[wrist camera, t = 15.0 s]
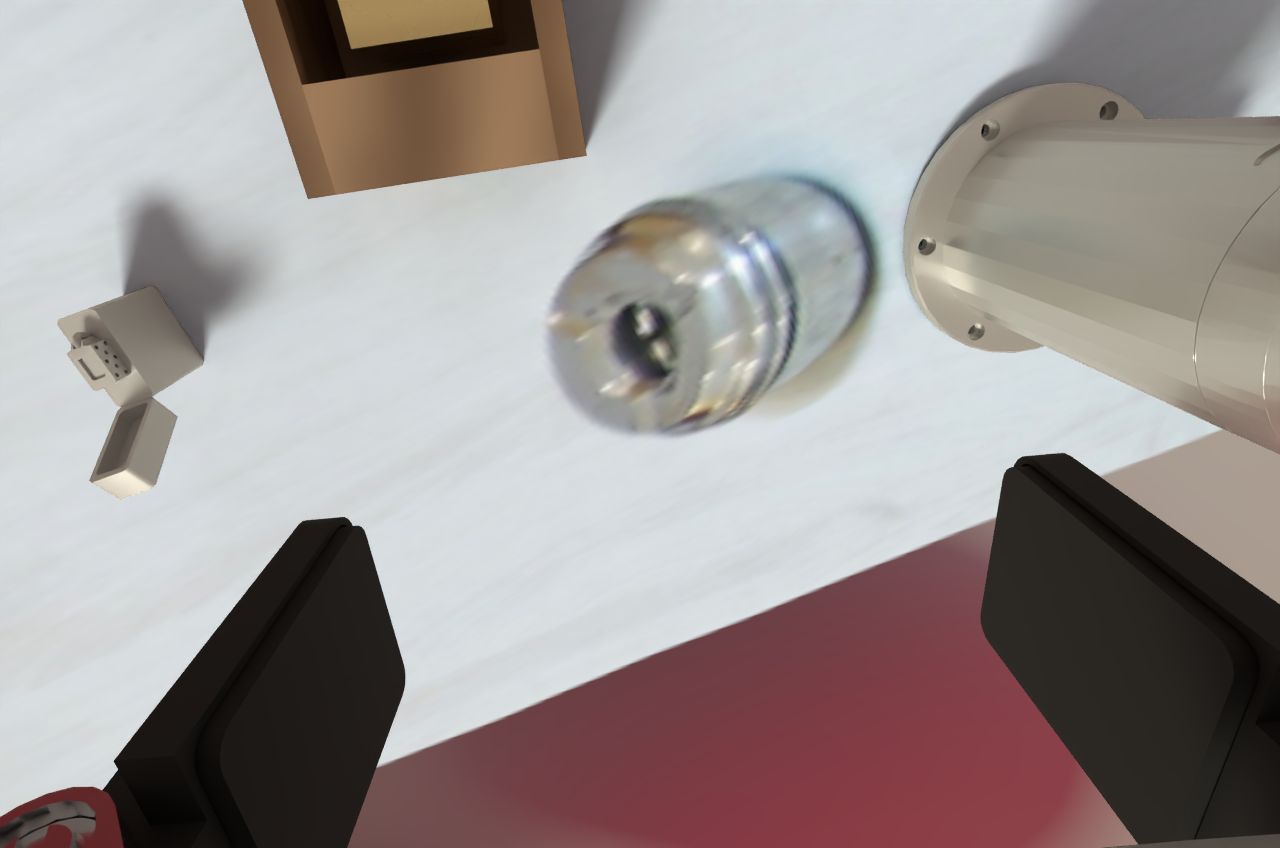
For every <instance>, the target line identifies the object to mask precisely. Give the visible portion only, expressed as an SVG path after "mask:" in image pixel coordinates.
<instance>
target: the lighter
mask: <svg viewBox="0 0 1280 848" xmlns="http://www.w3.org/2000/svg"><path fill="white" fill-rule="evenodd" d="M57 325H58V326H59V328H60V329H61V331H62V332H63V333H64V335H65V336H66V337H67V339H68V340H69V341H70V343H71V351H70V352H68V353H67V356H68V357H69V358H70V360H71V361H72V362H73V364H74V365H75V366H76V368H77V369H78V370H79V372H80V373H81V374H82V376H83V377H84V378H85V380H86V381H87V382H88V384H89V385H90V386H91V388H92V389H93V390H96V391H97V390H100V389H103V388H104V389H105V390H106V392H107V393H108V394H109V396H110V397H111V398H112V400H113V401H114V403H115V404H116V405H117V406H120V407H122V408H120V409H119V410H118V411H117V414H116V416H115V418H114V421H113V423H112V426H111V428H110V431H109V433H108V436H107V438H106V441H105V443H104V446H103V448H102V451H101V453H100V456H99V458H98V461H97V463H96V466H95V468H94V470H93V473H92V475H91V478H90V480H89V481H91V482H92V483H94V484H95V485H97V486H99V487H100V488H102V489H104V490H105V491H107V492H109V493H110V494H112V495H114V496H115V497H117V498H119V499H120V500H121V499H123V498H126V497H129V496H132V495H135V494H138V493H140V492H143V491H146V490H149V489H151V488H152V487H153V486H154V485H155V484H156V482H157V479H158V476H159V473H160V470H161V467H162V463H163V460H164V457H165V454H166V451H167V448H168V445H169V442H170V439H171V435H172V432H173V429H174V426H175V423H176V420H177V416H176V415H175V414H174V413H172V412H171V411H170V410H168V409H167V408H166V407H165V406H163V405H162V404H161V403H159V402H158V401H157V400H155V399H154V398H153V397H152V396H154V395H155V394H157V393H158V392H160V391H162V390H163V389H165V388H167V387H168V386H170V385H171V384H173V383H175V382H176V381H178V380H179V379H181V378H183V377H184V376H186V375H187V374H189V373H191V372H192V371H194V370H195V369H197V368H199V367H200V366H202V365H203V362H204V360H203V359H202V357H201V356H200V354H199V353H198V351H197V350H196V348H195V347H194V345H193V343H192V342H191V340H190V339H189V337H188V336H187V334H186V333H185V331H184V330H183V328H182V327H181V325H180V324H179V322H178V321H177V319H176V317H175V316H174V314H173V313H172V311H171V310H170V308H169V307H168V305H167V304H166V302H165V301H164V299H163V298H162V296H161V295H160V293H159V291H158V290H157V288H155V287H152V286H149V287H146V288H143V289H140V290H138V291H135V292H132V293H129V294H127V295H124V296H121V297H118V298H116V299H113V300H110V301H107V302H105V303H102V304H99V305H96V306H94V307H91V308H88V309H86V310H83V311H80V312H77V313H75V314H72V315H69V316H67V317H64V318H61V319H59V320H58V324H57Z"/></svg>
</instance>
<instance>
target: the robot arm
mask: <svg viewBox="0 0 1280 848" xmlns="http://www.w3.org/2000/svg"><path fill="white" fill-rule="evenodd" d="M982 126H984V132H983V134H982V135H981V130H982ZM921 240H923V244H922V246H921V247H920V248H918V246H919V243H920V242H921ZM903 259H904V267H905V275H906V278H907V281H908V284H909V287H910V290H911V293H912V296H913V298H914V299H915V301H916V303H917V304H918V306H919V308H920V309H921V311H922V313H923V314H924V315H925V316H926V317H927V318H928V319H929V320H930V321H931V322H932V323H933V324H934V325H935V326H936V327H937V328H938V329H939V330H941V331H942V332H944V333H945V334H947V335H949V336H950V337H952V338H953V339H955V340H957V341H959V342H961V343H963V344H965V345H967V346H969V347H972V348H976V349H981V350H985V351H989V352H1006V353H1015V352H1021V351H1027V350H1033V349H1038V348H1041V347H1044V346H1046V347H1048V348H1050V349H1052V350H1054V351H1056V352H1058V353H1061V354H1063V355H1065V356H1067V357H1069V358H1071V359H1074V360H1076V361H1078V362H1080V363H1082V364H1084V365H1086V366H1089V367H1091V368H1093V369H1095V370H1097V371H1099V372H1101V373H1104V374H1106V375H1108V376H1110V377H1112V378H1114V379H1116V380H1119V381H1121V382H1123V383H1125V384H1127V385H1129V386H1132V387H1134V388H1136V389H1138V390H1140V391H1142V392H1144V393H1147V394H1149V395H1151V396H1153V397H1155V398H1157V399H1159V400H1162V401H1164V402H1166V403H1168V404H1170V405H1172V406H1174V407H1177V408H1179V409H1181V410H1183V411H1185V412H1187V413H1189V414H1192V415H1194V416H1196V417H1198V418H1200V419H1202V420H1205V421H1207V422H1209V423H1211V424H1213V425H1215V426H1217V427H1220V428H1222V429H1224V430H1227V431H1229V432H1231V433H1233V434H1236V435H1238V436H1240V437H1243V438H1245V439H1247V440H1249V441H1251V442H1254V443H1256V444H1258V445H1260V446H1262V447H1264V448H1267V449H1269V450H1271V451H1273V452H1275V453H1278V454H1280V116H1271V117H1224V118H1176V119H1146V118H1145V117H1144V115H1143V114H1142V113H1141V111H1140V110H1138V109H1137V108H1136V107H1135V106H1134V105H1132V104H1131V103H1130V102H1129V101H1128V100H1127V99H1125V98H1124V97H1123V96H1121V95H1118V94H1116V93H1114V92H1112V91H1110V90H1108V89H1106V88H1103V87H1100V86H1095V85H1090V84H1084V83H1079V82H1075V83H1053V84H1046V85H1040V86H1034V87H1028V88H1025V89H1022V90H1020V91H1017V92H1014V93H1011V94H1009V95H1006V96H1003V97H1001V98H1000V99H998V100H996V101H994V102H993V103H991V104H989V105H988V106H986V107H984V108H983V109H981V110H979V111H978V112H976V113H975V114H974V115H973V116H972V117H970V118H969V119H968V120H967V121H966V122H965V123H963V124H962V125H961V126H960V127H959V128H957V129H956V130H955V131H954V132H953V134H952V135H951V136H950V137H949V138H948V139H947V141H946V142H945V143H944V144H943V145H942V146H941V147H940V149H939V150H938V151H937V152H936V154H935V155H934V157H933V159H932V160H931V162H930V163H929V165H928V166H927V168H926V170H925V171H924V173H923V174H922V176H921V178H920V181H919V183H918V185H917V188H916V190H915V192H914V195H913V197H912V200H911V202H910V206H909V210H908V214H907V218H906V223H905V227H904V240H903ZM969 329H970V330H969ZM981 625H982V628H983V632H984V634H985V637H986V638H987V640H988V642H989V643H990V644H991V646H992V647H993V648H994V650H995V651H996V653H997V654H998V655H999V656H1000V658H1001V659H1002V661H1003V662H1004V663H1005V665H1006V666H1007V667H1008V669H1009V670H1010V671H1011V673H1012V674H1013V675H1014V677H1015V678H1016V680H1017V681H1018V682H1019V684H1020V685H1021V686H1022V688H1023V689H1024V690H1025V692H1026V693H1027V694H1028V696H1029V697H1030V698H1031V700H1032V701H1033V703H1034V704H1035V705H1036V707H1037V708H1038V709H1039V711H1040V712H1041V713H1042V715H1043V716H1044V717H1045V719H1046V720H1047V721H1048V723H1049V724H1050V725H1051V727H1052V728H1053V730H1054V731H1055V732H1056V734H1057V735H1058V736H1059V738H1060V739H1061V740H1062V742H1063V743H1064V744H1065V746H1066V747H1067V748H1068V750H1069V751H1070V752H1071V754H1072V755H1073V757H1074V758H1075V759H1076V761H1077V762H1078V763H1079V765H1080V766H1081V767H1082V769H1083V770H1084V771H1085V773H1086V774H1087V776H1088V777H1089V778H1090V779H1091V781H1092V782H1093V784H1094V785H1095V786H1096V788H1097V789H1098V790H1099V792H1100V793H1101V794H1102V796H1103V797H1104V798H1105V800H1106V801H1107V803H1108V804H1109V805H1110V807H1111V808H1112V809H1113V811H1114V812H1115V813H1116V815H1117V816H1118V817H1119V819H1120V820H1121V821H1122V823H1123V824H1124V826H1125V827H1126V828H1127V830H1128V831H1129V832H1130V834H1131V835H1132V836H1133V838H1134V839H1135V840H1136V842H1137V843H1138V845H1129V846H1117V847H1105V848H1280V604H1278V603H1277V602H1276V601H1274V600H1273V599H1271V598H1270V597H1269V596H1267V595H1266V594H1264V593H1263V592H1261V591H1260V590H1259V589H1257V588H1256V587H1254V586H1253V585H1252V584H1250V583H1249V582H1248V581H1246V580H1245V579H1243V578H1242V577H1240V576H1239V575H1238V574H1236V573H1235V572H1233V571H1232V570H1230V569H1229V568H1228V567H1226V566H1225V565H1224V564H1222V563H1221V562H1219V561H1218V560H1216V559H1215V558H1213V557H1212V556H1211V555H1209V554H1208V553H1207V552H1205V551H1204V550H1202V549H1201V548H1200V547H1198V546H1197V545H1195V544H1194V543H1192V542H1191V541H1190V540H1188V539H1187V538H1185V537H1184V536H1183V535H1181V534H1180V533H1178V532H1177V531H1176V530H1174V529H1173V528H1171V527H1170V526H1169V525H1167V524H1166V523H1164V522H1163V521H1162V520H1160V519H1159V518H1157V517H1156V516H1154V515H1153V514H1152V513H1150V512H1149V511H1147V510H1146V509H1145V508H1143V507H1142V506H1140V505H1139V504H1137V503H1136V502H1134V501H1133V500H1132V499H1131V498H1129V497H1128V496H1126V495H1125V494H1123V493H1122V492H1121V491H1119V490H1118V489H1116V488H1115V487H1114V486H1112V485H1111V484H1109V483H1108V482H1107V481H1105V480H1104V479H1102V478H1101V477H1100V476H1098V475H1097V474H1095V473H1094V472H1092V471H1091V470H1090V469H1088V468H1087V467H1085V466H1084V465H1083V464H1081V463H1080V462H1078V461H1077V460H1076V459H1074V458H1073V457H1071V456H1069V455H1067V454H1065V453H1057V454H1046V455H1035V456H1024V457H1021V458H1019V459H1018V460H1017V462H1016V463H1015V465H1014V467H1011V468H1009V469H1007V470H1006V472H1005V473H1004V477H1003V481H1002V487H1001V493H1000V499H999V506H998V512H997V518H996V524H995V530H994V536H993V543H992V548H991V554H990V560H989V566H988V572H987V579H986V584H985V591H984V597H983V603H982V609H981ZM404 687H405V668H404V664H403V660H402V657H401V654H400V650H399V647H398V643H397V640H396V636H395V633H394V629H393V626H392V623H391V619H390V616H389V612H388V609H387V605H386V602H385V598H384V595H383V592H382V588H381V585H380V581H379V578H378V574H377V571H376V567H375V564H374V561H373V557H372V554H371V550H370V547H369V543H368V540H367V537H366V534H365V531H364V530H363V528H362V527H360V526H353V525H352V523H351V522H350V521H349V519H347V518H345V517H339V518H328V519H316V520H306V521H302V522H301V523H300V524H299V525H298V526H297V528H296V529H295V530H294V531H293V533H292V534H291V535H290V536H289V538H288V539H287V540H286V542H285V543H284V544H283V545H282V547H281V548H280V549H279V551H278V552H277V553H276V554H275V556H274V557H273V558H272V559H271V561H270V562H269V563H268V565H267V566H266V567H265V568H264V570H263V571H262V572H261V574H260V575H259V576H258V577H257V579H256V580H255V581H254V582H253V584H252V585H251V586H250V588H249V589H248V590H247V591H246V593H245V594H244V595H243V597H242V598H241V599H240V600H239V602H238V603H237V604H236V605H235V607H234V608H233V609H232V611H231V612H230V613H229V614H228V616H227V617H226V618H225V619H224V621H223V622H222V623H221V625H220V626H219V627H218V628H217V630H216V631H215V632H214V634H213V635H212V636H211V637H210V639H209V640H208V641H207V642H206V644H205V645H204V646H203V648H202V649H201V650H200V651H199V653H198V654H197V655H196V657H195V658H194V659H193V660H192V662H191V663H190V664H189V665H188V667H187V668H186V669H185V671H184V672H183V673H182V674H181V676H180V677H179V678H178V680H177V681H176V682H175V683H174V685H173V686H172V687H171V688H170V690H169V691H168V692H167V694H166V695H165V696H164V697H163V699H162V700H161V701H160V703H159V704H158V705H157V706H156V708H155V709H154V710H153V711H152V713H151V714H150V715H149V717H148V718H147V719H146V720H145V722H144V723H143V724H142V726H141V727H140V728H139V729H138V731H137V732H136V733H135V734H134V736H133V737H132V738H131V740H130V741H129V742H128V743H127V745H126V746H125V747H124V749H123V750H122V751H121V752H120V754H119V755H118V756H117V757H116V759H115V760H114V763H115V765H116V766H117V768H118V771H117V772H116V773H115V775H114V776H113V777H112V779H111V780H110V781H109V782H108V784H107V785H106V786H105V788H104V789H103V790H100V789H98V788H95V787H71V788H67V789H63V790H59V791H56V792H52V793H48V794H45V795H43V796H41V797H38V798H36V799H34V800H31V801H29V802H27V803H25V804H22V805H20V806H18V807H16V808H14V809H13V810H11V811H10V812H8V813H6V814H5V815H3V816H1V817H0V848H347V846H348V844H349V841H350V838H351V835H352V832H353V830H354V827H355V824H356V822H357V819H358V816H359V813H360V811H361V808H362V805H363V802H364V799H365V797H366V794H367V791H368V789H369V786H370V783H371V780H372V778H373V775H374V772H375V769H376V767H377V764H378V761H379V758H380V756H381V753H382V750H383V748H384V745H385V742H386V739H387V737H388V734H389V731H390V728H391V726H392V723H393V720H394V717H395V715H396V712H397V709H398V706H399V704H400V701H401V698H402V695H403V692H404Z"/></svg>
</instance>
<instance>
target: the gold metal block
mask: <svg viewBox="0 0 1280 848" xmlns="http://www.w3.org/2000/svg"><path fill="white" fill-rule="evenodd" d="M338 4H339V7H340V11H341V14H342V18H343V21H344V25H345V28H346V32H347V36H348V39H349V43H350V46H351V49H353V50H355V51H358V52H361V53H364V54H367V55H369V56H372V57H375V58H378V59H380V60H383V61H386V62H395V61H401V60H408V59H414V58H421V57H427V56H434V55H440V54H446V53H453V52H459V51H466V50H472V49H479V48H485V47H491V46H498V45H504V44H507V41H506V36H505V31H504V26H503V21H502V15H501V10H500V5H499V0H338Z"/></svg>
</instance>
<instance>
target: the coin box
mask: <svg viewBox="0 0 1280 848" xmlns="http://www.w3.org/2000/svg"><path fill="white" fill-rule="evenodd" d="M242 1H243V4H244V7H245V10H246V13H247V16H248V19H249V22H250V25H251V28H252V31H253V34H254V37H255V40H256V43H257V46H258V49H259V52H260V55H261V58H262V61H263V64H264V67H265V70H266V73H267V76H268V79H269V82H270V85H271V88H272V91H273V94H274V97H275V100H276V104H277V107H278V110H279V113H280V116H281V119H282V122H283V125H284V128H285V131H286V134H287V137H288V140H289V143H290V146H291V149H292V152H293V155H294V158H295V161H296V164H297V167H298V170H299V173H300V176H301V179H302V182H303V185H304V188H305V191H306V194H307V197H308V199H311V198H317V197H324V196H330V195H337V194H343V193H350V192H356V191H362V190H369V189H375V188H382V187H388V186H395V185H401V184H408V183H414V182H420V181H427V180H433V179H440V178H446V177H453V176H459V175H465V174H472V173H478V172H485V171H491V170H498V169H504V168H511V167H517V166H523V165H530V164H536V163H543V162H549V161H556V160H562V159H568V158H575V157H581V156H587V155H586V148H585V142H584V136H583V130H582V124H581V117H580V111H579V105H578V99H577V93H576V86H575V80H574V74H573V68H572V62H571V55H570V49H569V43H568V37H567V31H566V24H565V18H564V12H563V6H562V0H499V5H500V10H501V15H502V21H503V26H504V31H505V36H506V41H507V44H504V45H498V46H491V47H485V48H479V49H472V50H466V51H459V52H453V53H446V54H440V55H434V56H427V57H421V58H414V59H408V60H401V61H395V62H386V61H383V60H380V59H378V58H375V57H372V56H369V55H367V54H364V53H361V52H358V51H355V50H353V49H351V46H350V43H349V39H348V36H347V32H346V28H345V25H344V21H343V18H342V14H341V11H340V7H339V4H338V0H242Z"/></svg>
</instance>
